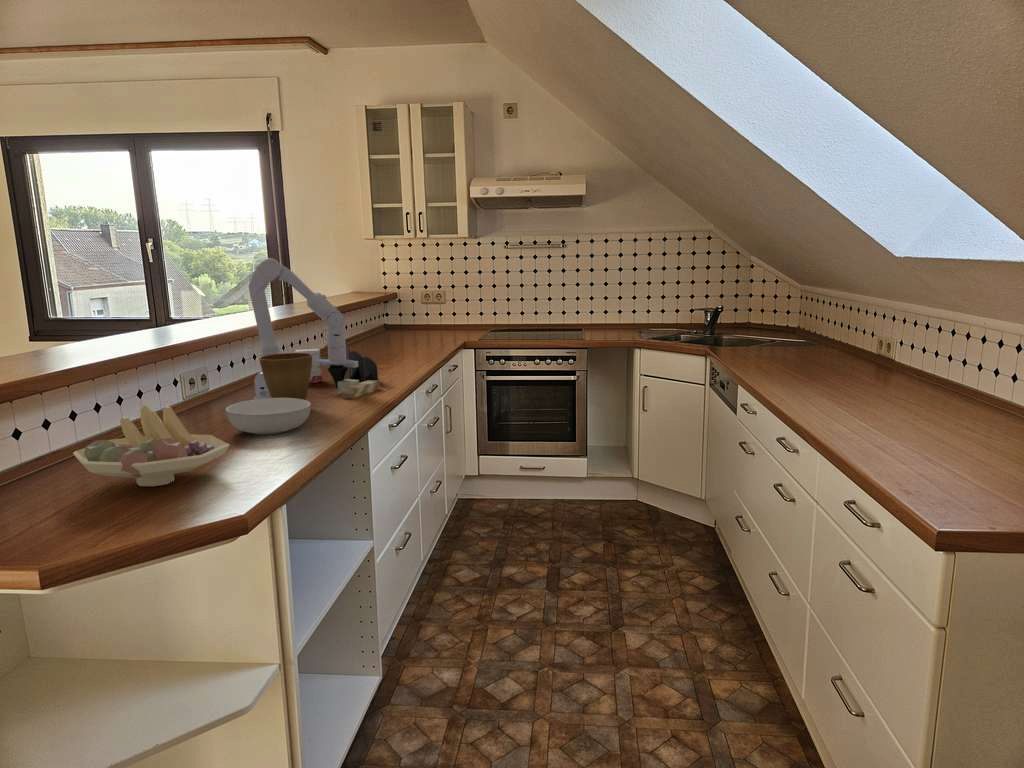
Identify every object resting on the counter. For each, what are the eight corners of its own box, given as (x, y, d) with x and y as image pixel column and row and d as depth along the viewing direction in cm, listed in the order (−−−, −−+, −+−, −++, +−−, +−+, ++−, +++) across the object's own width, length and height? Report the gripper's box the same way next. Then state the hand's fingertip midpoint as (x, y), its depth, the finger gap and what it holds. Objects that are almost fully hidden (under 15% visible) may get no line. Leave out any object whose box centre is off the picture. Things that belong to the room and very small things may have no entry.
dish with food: (191, 454, 162) (185, 394, 160) (257, 477, 145) (251, 410, 142) (55, 486, 141) (45, 418, 139) (113, 518, 124) (103, 440, 121)
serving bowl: (287, 442, 172) (285, 415, 170) (210, 439, 176) (208, 412, 175) (326, 422, 192) (324, 398, 190) (256, 420, 196) (254, 396, 195)
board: (352, 398, 222) (352, 389, 222) (341, 398, 224) (341, 388, 223) (379, 389, 237) (378, 380, 236) (369, 388, 238) (368, 380, 238)
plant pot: (323, 403, 216) (319, 352, 213) (304, 414, 201) (300, 359, 198) (276, 403, 217) (272, 352, 214) (254, 414, 203) (249, 359, 200)
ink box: (322, 380, 255) (320, 348, 253) (322, 383, 250) (320, 350, 248) (297, 382, 253) (295, 349, 251) (296, 384, 248) (294, 351, 246)
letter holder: (350, 389, 239) (347, 348, 236) (338, 380, 256) (336, 341, 254) (379, 386, 243) (376, 346, 240) (366, 377, 260) (364, 339, 258)
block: (351, 394, 228) (350, 382, 228) (338, 394, 230) (337, 382, 229) (359, 391, 233) (358, 380, 232) (346, 391, 235) (345, 379, 234)
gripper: (362, 346, 231) (364, 386, 234) (325, 345, 237) (328, 384, 239) (350, 349, 225) (352, 390, 227) (312, 347, 230) (315, 388, 233)
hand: (339, 388), depth 233 cm, fingers closed
